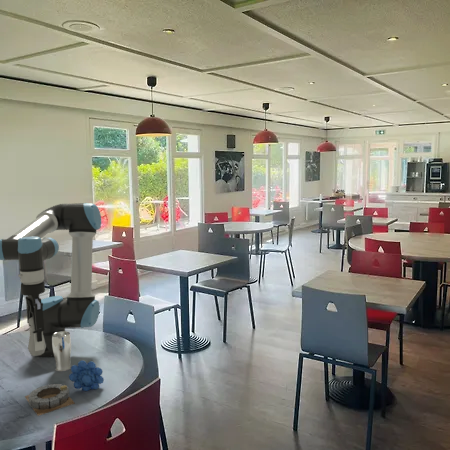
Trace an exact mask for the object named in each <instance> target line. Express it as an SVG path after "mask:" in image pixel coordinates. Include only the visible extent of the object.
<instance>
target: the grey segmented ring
mask: <svg viewBox="0 0 450 450" xmlns="http://www.w3.org/2000/svg"><path fill="white" fill-rule="evenodd" d="M50 394H57V395H56V396H54V397H51V398H45V399H42V397H43V396H46V395H50ZM28 395H29V396H28ZM28 395H27V396H28V399H29V402H28V405H29V407H31V409H33V408H34V409H38V410H39V409H40V410H44V409H51V408H54V407H57V406H60V405H62V404H63V403H65V402H66V401H67V400H68V398H69V397H70V389H69V388H68V386H67V384H66V385H65V384H60V383H54V384H53V383H52V384H51V383H50V384H46V385H42V386H39V387H37V388H36V389H34V390H32V391H30V393H29V394H28Z"/></svg>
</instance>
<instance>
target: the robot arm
mask: <svg viewBox="0 0 450 450" xmlns="http://www.w3.org/2000/svg"><path fill="white" fill-rule="evenodd" d="M101 227H102V216H101V210H100V209H99V206H97V205H96V204H95V203H89V202H88V203H87V202H80V203H79V202H78V203H75V202H74V203H59V204H56V205H53V206H50V207H48V208H45V210H42V211H41V212H39V213H38V214H37V215H36V217H35V219H33V220H32V221H31V222H29V223H27V224H26V225H25V226H24V227H22V228H21V229H19V230H18V231H17V232H15V233H14V234H13V235H11V236H9V237H8V238H0V261H4V262H5V261H18V264H19V265H18V266H19V274H18V277H19V280H20V283H21V284H20V294H21V295H22V296H25V297H24V298H25V305H26V307H25V308H26V323H27V324H28V329H29V332H30V328H31V325H29V323H28V321H29V319H30V318H32V317H33V322H34V329H35V331H34V332H33V333H34V341H35V351H39V350H43V349H44V342H43V336H44V340H45V344H46V348H45V351H44V353H43V354H42V355H38V356H37V357H40V358H41V357H42V358H47V357H48V358H49V357H54V353H53V348H52V335H53V334H54V333H57V332H61V331H66V328H67V329H68V328H70V329H71V328H72V329H74V328H75V329H76V328H78V329H80V328H81V329H85V328H92V327H94V326H95V324H96V323H97V321H98V319H99V316H100V310H101V309H100V302H99V300H97V299H96V295H95V294H94V293H93V292H92V288H93V287H92V284H93V283H92V282H93V281H92V280H93V279H92V278H93V277H92V276H93V242H94V240H93V238H95V236H96V235H97V230H100V229H101ZM60 230H61V231H68V234H69V235H70V236H71V239H72V240H71V245H72V246H71V269H70V272H71V273H70V275H71V276H70V277H71V278H70V280H71V281H70V293H69V294H68V295H67V296H66V300H65V299H64V297H63V296H62V295H54V296H49V297H46V298H42V299H41V298H40V295H41V294H44V293H45V292H46V287H45V284H46V283H45V281H44V280H45V271H44V261H46V260H50V259H51V258H53V257H55V256H56V255H57V254H58V252H59V250H60V248H59V247H60V246H59V244H58V241H57V240H56V239H54V238H52V237H45V236H46V235H48V234H51V233H54V232H55V231H60Z"/></svg>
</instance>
